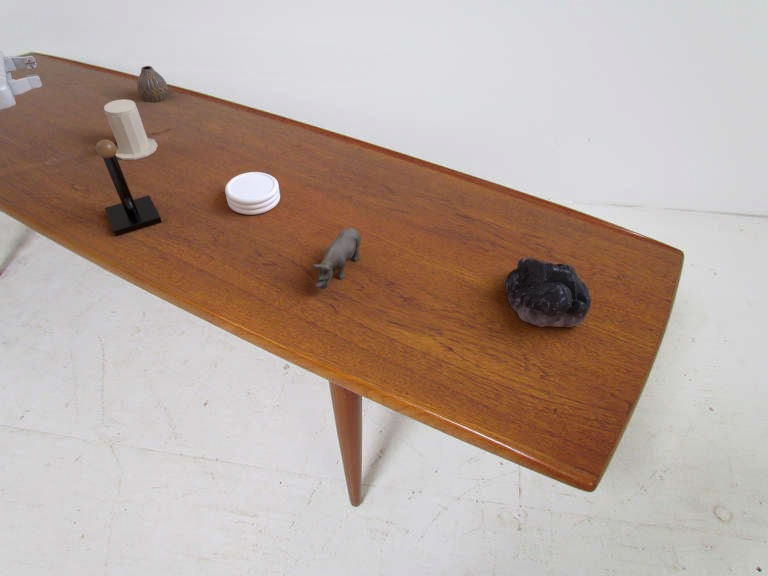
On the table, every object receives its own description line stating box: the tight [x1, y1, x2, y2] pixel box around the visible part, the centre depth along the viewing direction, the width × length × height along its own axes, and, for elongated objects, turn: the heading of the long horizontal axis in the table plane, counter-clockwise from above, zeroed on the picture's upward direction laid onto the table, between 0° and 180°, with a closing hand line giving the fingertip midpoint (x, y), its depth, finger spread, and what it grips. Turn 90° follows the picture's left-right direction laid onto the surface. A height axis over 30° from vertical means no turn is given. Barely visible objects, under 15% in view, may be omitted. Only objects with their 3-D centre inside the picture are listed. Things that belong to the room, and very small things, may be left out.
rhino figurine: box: [312, 227, 362, 290], centre depth 81 cm, size 4×14×6 cm, turn 155°
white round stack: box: [224, 171, 281, 216], centre depth 95 cm, size 10×10×4 cm
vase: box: [136, 65, 170, 103], centre depth 121 cm, size 7×7×9 cm
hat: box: [103, 99, 159, 161], centre depth 105 cm, size 9×9×10 cm
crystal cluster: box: [503, 257, 592, 328], centre depth 76 cm, size 13×14×10 cm
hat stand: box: [95, 139, 163, 237], centre depth 86 cm, size 8×8×16 cm
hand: (38, 70), depth 90 cm, fingers open, 8 cm apart
